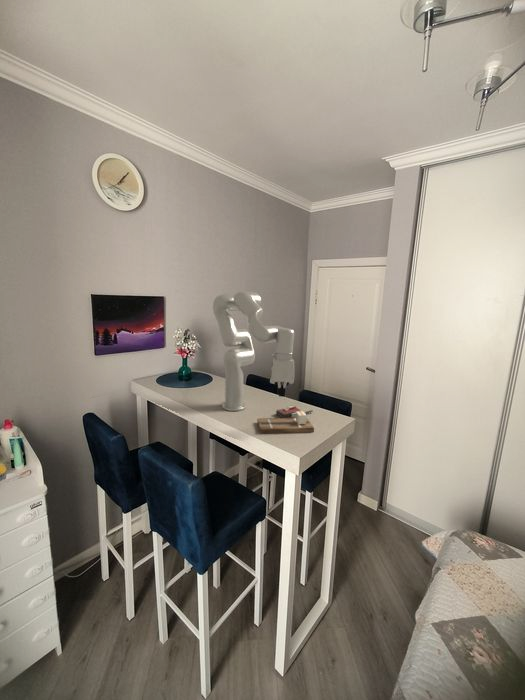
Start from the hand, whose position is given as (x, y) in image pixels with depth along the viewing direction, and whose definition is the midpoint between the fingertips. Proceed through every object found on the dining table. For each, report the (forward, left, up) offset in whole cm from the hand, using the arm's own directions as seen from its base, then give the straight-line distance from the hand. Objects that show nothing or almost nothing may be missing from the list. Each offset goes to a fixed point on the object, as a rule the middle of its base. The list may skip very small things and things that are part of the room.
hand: (280, 395), depth 140 cm
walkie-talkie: (-15, +11, -16) cm, 24 cm away
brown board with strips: (+1, +2, -15) cm, 15 cm away
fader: (+1, +10, -13) cm, 16 cm away
